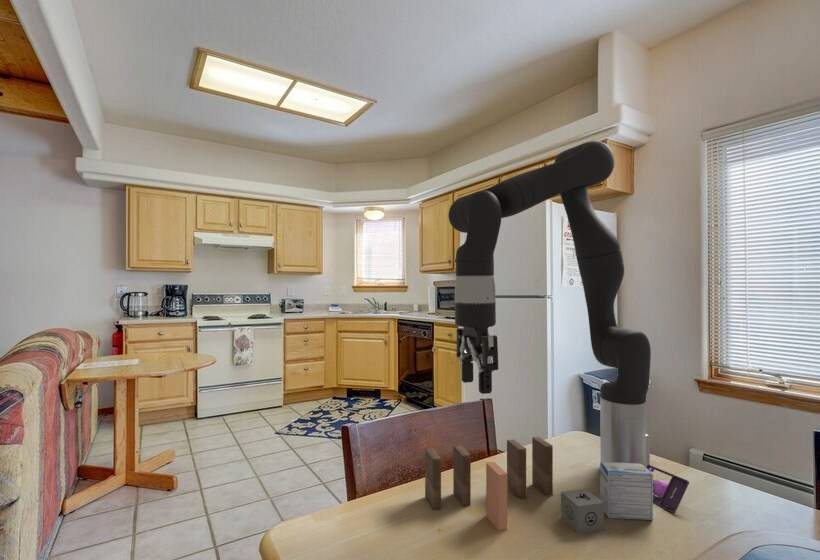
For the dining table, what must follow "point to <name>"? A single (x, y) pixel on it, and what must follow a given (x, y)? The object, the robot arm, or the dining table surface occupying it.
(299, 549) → the dining table surface
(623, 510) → the medicine box
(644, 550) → the dining table surface
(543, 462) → the domino
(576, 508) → the dice cube
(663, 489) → the purple window box
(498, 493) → the domino
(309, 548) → the dining table surface
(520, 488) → the domino
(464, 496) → the domino
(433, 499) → the domino
